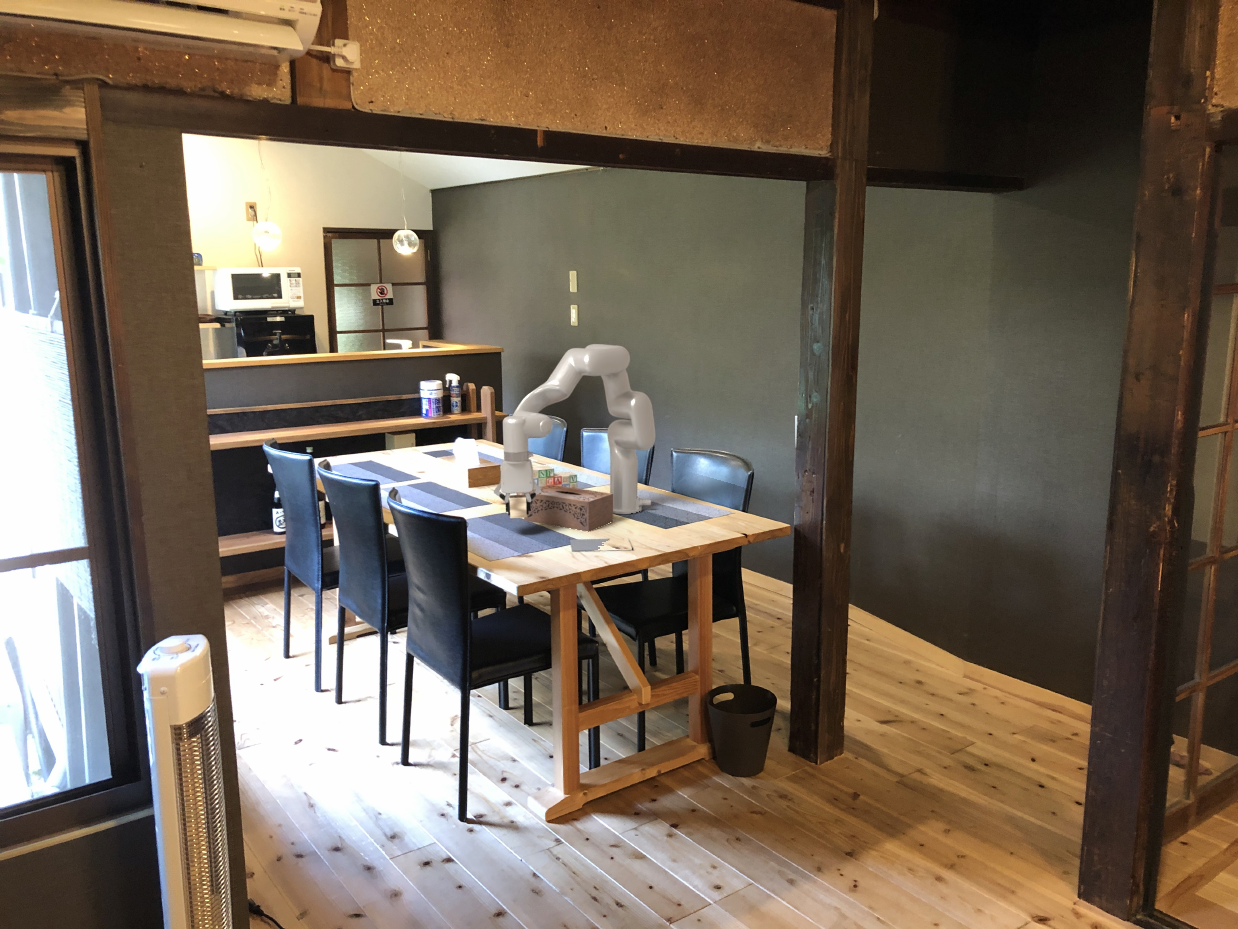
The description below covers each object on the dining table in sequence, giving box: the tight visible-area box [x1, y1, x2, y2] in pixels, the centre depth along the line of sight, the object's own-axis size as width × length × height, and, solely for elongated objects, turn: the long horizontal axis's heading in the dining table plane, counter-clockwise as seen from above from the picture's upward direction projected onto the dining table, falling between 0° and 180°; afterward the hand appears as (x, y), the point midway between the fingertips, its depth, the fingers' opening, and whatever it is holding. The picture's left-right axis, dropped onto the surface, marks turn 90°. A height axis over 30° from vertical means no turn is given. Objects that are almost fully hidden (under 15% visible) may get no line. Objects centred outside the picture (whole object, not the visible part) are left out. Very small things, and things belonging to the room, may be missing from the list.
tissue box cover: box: [523, 485, 614, 533], centre depth 310 cm, size 26×14×10 cm, turn 58°
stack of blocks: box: [516, 465, 578, 495], centre depth 340 cm, size 21×6×12 cm, turn 116°
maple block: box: [509, 494, 527, 519], centre depth 291 cm, size 5×5×6 cm
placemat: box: [569, 538, 609, 552], centre depth 282 cm, size 18×12×1 cm, turn 96°
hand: (518, 513), depth 291 cm, fingers closed on maple block, 5 cm apart
